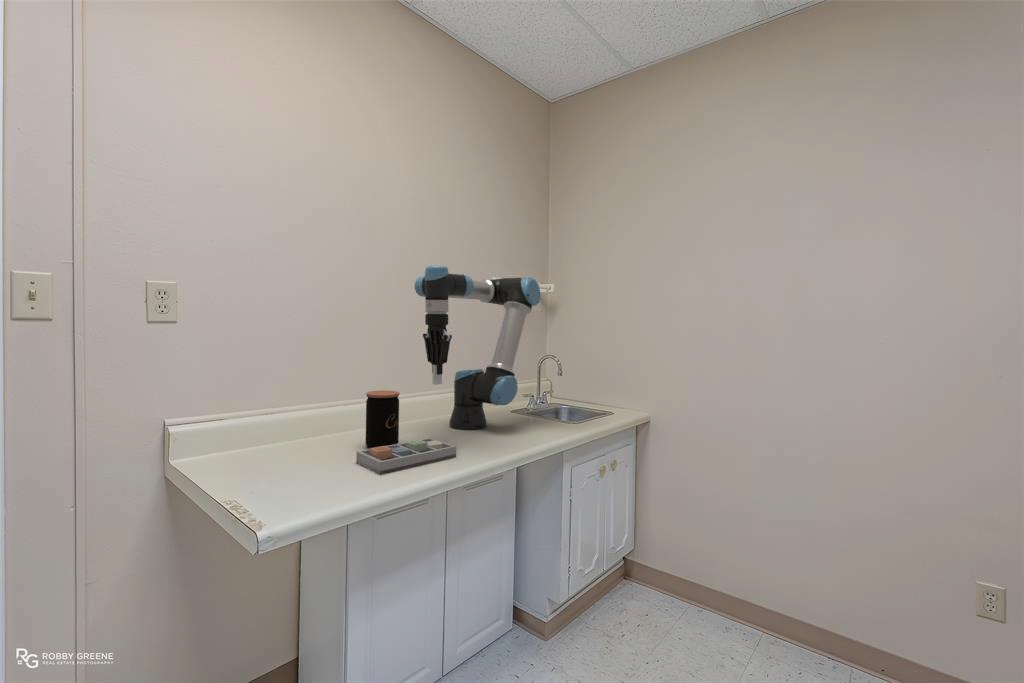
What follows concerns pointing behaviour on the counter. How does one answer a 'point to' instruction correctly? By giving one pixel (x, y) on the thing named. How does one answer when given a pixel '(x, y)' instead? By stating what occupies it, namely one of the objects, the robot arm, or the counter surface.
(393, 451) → the key slate
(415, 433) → the counter surface
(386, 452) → the key terracotta
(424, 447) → the key sage
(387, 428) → the coffee jar
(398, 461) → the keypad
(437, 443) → the key ivory
